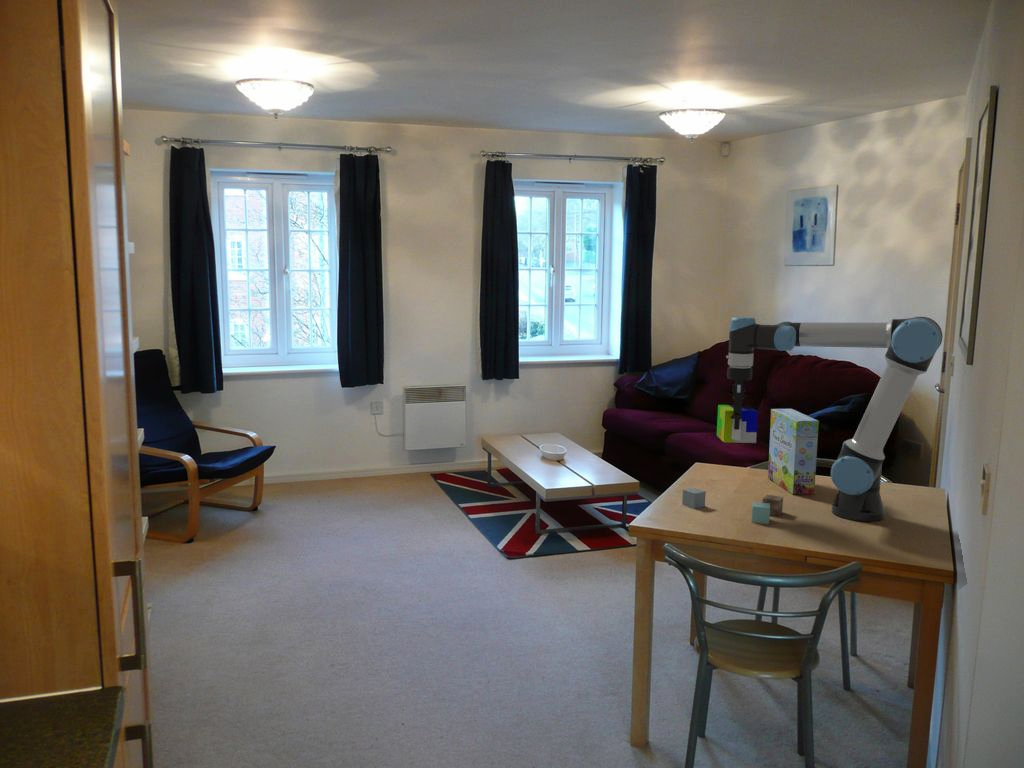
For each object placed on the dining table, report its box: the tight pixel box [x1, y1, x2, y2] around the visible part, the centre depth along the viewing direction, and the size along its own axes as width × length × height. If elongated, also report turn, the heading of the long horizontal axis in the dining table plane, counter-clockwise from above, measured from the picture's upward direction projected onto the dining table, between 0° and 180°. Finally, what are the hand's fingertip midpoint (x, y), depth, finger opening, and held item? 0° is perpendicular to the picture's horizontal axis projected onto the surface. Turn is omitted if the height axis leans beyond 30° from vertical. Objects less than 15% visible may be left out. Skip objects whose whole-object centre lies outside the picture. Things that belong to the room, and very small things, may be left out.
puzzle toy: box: [716, 404, 759, 444], centre depth 267 cm, size 10×10×10 cm
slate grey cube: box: [681, 487, 707, 510], centre depth 271 cm, size 5×5×5 cm
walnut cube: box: [762, 494, 784, 517], centre depth 264 cm, size 5×5×5 cm
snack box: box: [767, 408, 820, 496], centre depth 294 cm, size 22×9×26 cm, turn 6°
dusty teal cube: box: [751, 501, 771, 525], centre depth 256 cm, size 5×5×5 cm
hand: (736, 435), depth 268 cm, fingers closed on puzzle toy, 11 cm apart
